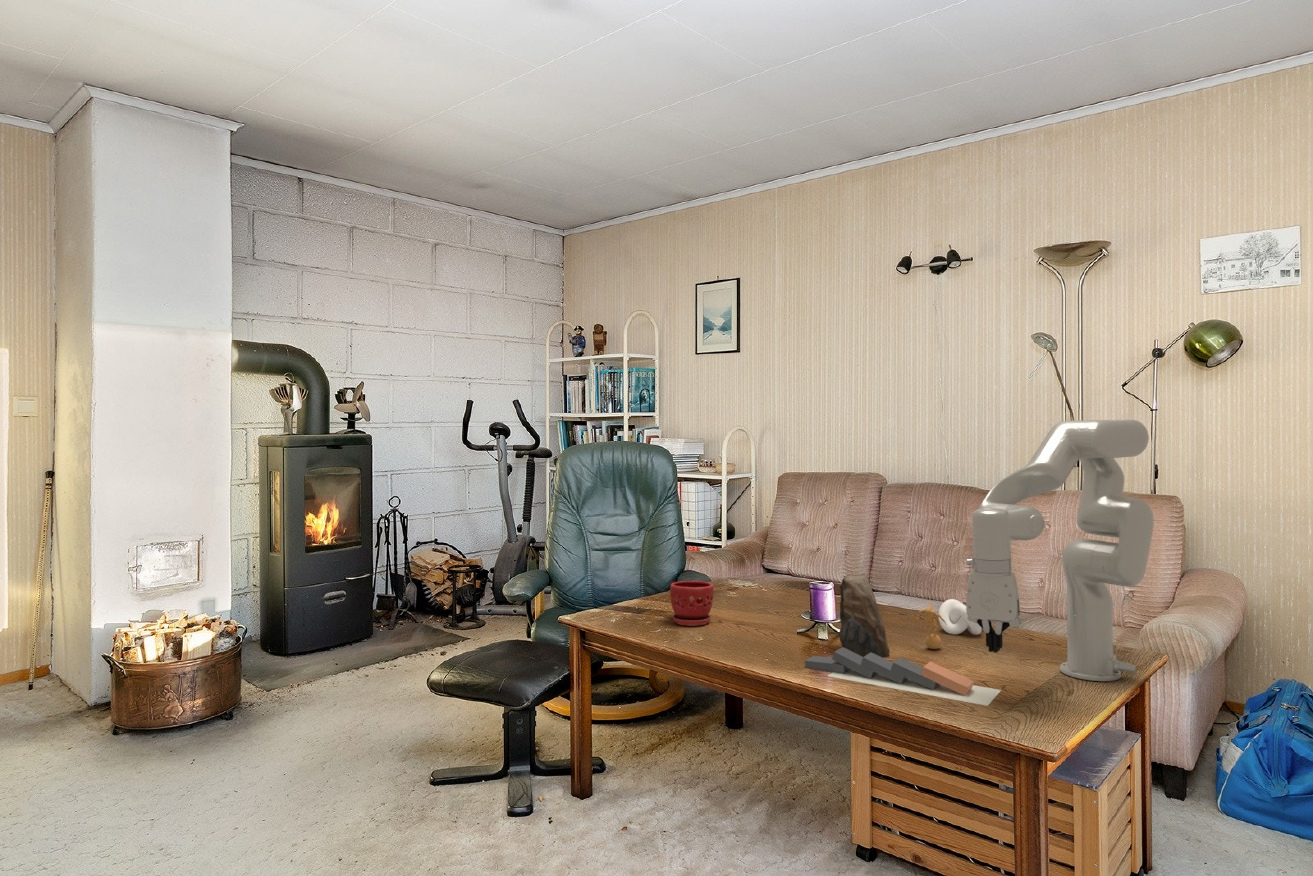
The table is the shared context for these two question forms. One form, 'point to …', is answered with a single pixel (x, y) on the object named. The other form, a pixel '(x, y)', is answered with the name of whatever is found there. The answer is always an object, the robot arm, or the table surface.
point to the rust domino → (947, 678)
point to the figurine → (933, 639)
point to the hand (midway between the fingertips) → (994, 650)
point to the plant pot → (691, 602)
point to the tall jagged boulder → (861, 618)
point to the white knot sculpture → (956, 618)
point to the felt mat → (923, 688)
